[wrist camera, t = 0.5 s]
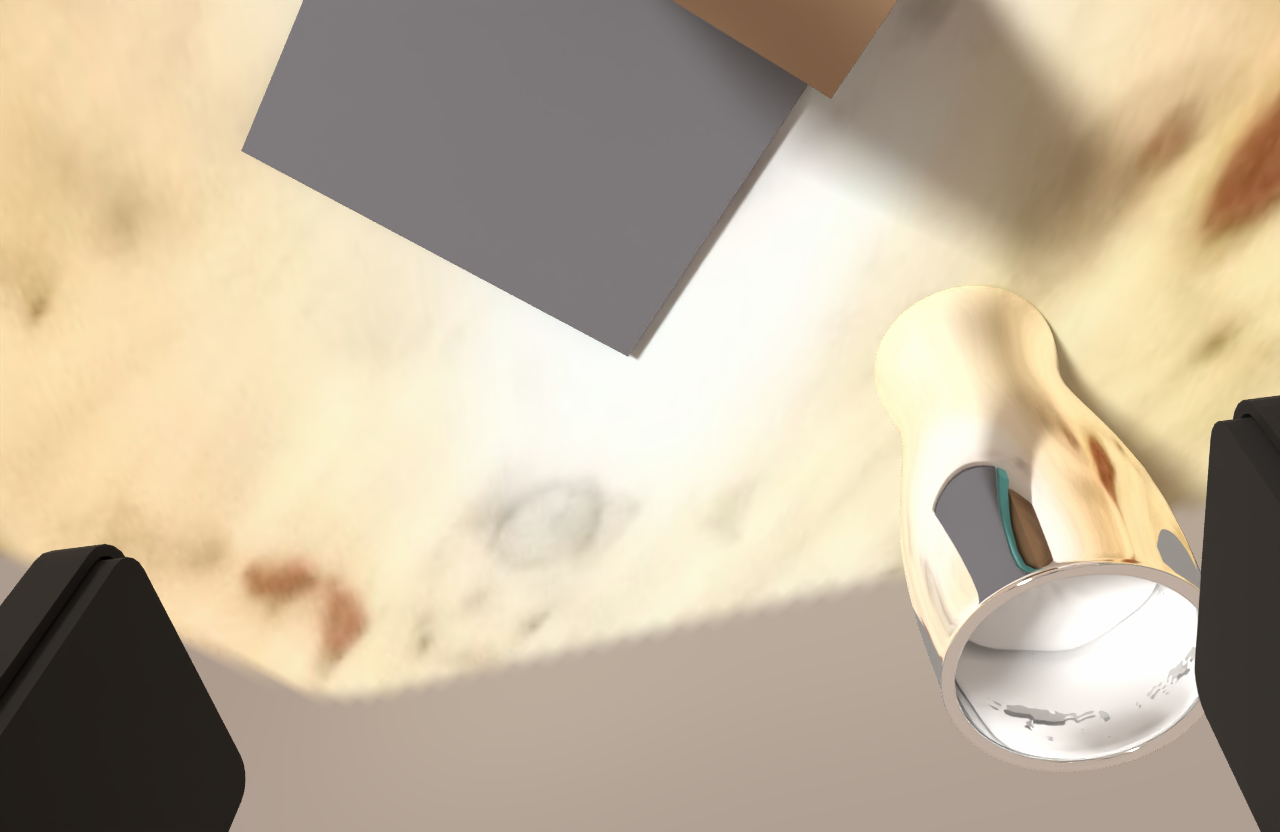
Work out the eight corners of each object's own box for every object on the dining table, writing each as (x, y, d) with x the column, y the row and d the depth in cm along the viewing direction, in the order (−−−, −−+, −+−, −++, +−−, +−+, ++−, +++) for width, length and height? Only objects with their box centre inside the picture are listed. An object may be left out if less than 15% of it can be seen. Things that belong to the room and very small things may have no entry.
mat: (384, -190, 32) (381, -189, 32) (811, 74, 36) (812, 78, 35) (245, 146, 37) (241, 150, 37) (628, 351, 41) (627, 356, 40)
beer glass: (934, 483, 43) (1033, 818, 30) (819, 353, 40) (872, 658, 28) (1107, 376, 40) (1295, 692, 28) (995, 229, 38) (1145, 503, 25)
